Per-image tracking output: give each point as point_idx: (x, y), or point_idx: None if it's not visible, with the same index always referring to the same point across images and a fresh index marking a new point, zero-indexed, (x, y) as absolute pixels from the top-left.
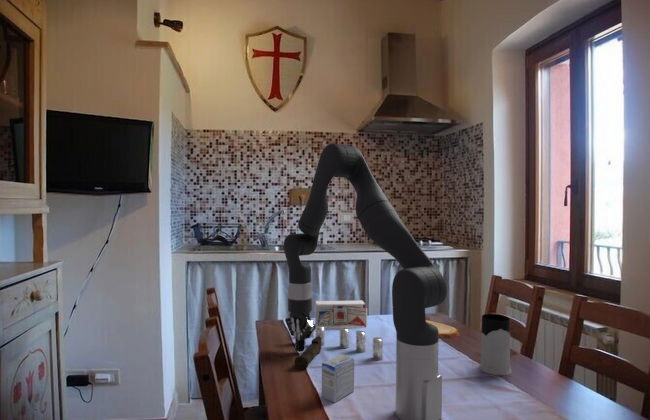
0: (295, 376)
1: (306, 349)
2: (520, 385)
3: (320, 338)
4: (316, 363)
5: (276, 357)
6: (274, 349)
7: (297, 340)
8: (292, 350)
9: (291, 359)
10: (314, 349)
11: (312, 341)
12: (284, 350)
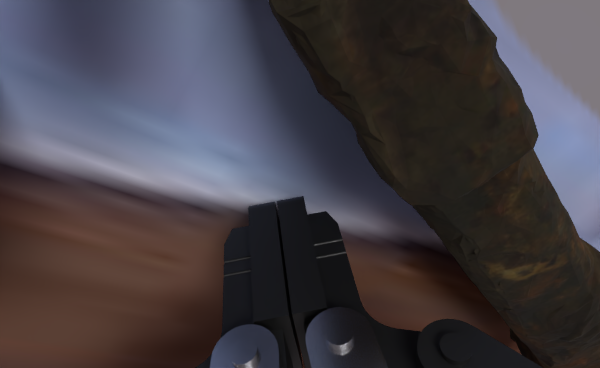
0: None
1: (512, 300)
2: None
3: (472, 11)
4: (583, 184)
5: None
6: (64, 334)
7: (309, 365)
8: (158, 231)
9: (361, 297)
10: (571, 226)
11: (437, 202)
12: (126, 284)
